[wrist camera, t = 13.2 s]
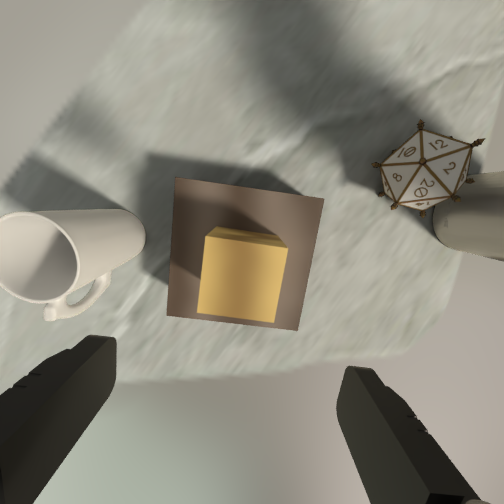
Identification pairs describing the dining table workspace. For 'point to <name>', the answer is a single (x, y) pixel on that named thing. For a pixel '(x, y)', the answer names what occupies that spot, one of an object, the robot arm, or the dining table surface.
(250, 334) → the dining table surface
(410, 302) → the dining table surface
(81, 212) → the mug
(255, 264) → the ochre block
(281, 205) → the riser
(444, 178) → the game die
